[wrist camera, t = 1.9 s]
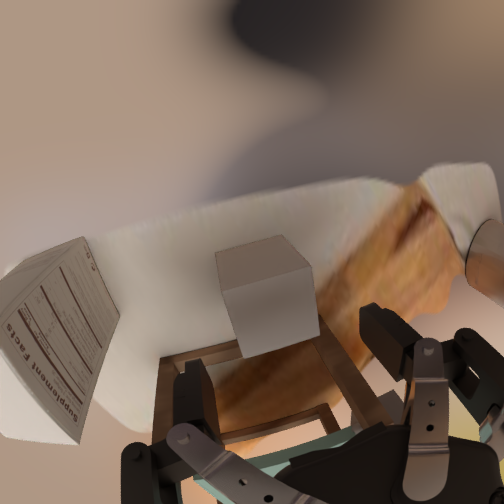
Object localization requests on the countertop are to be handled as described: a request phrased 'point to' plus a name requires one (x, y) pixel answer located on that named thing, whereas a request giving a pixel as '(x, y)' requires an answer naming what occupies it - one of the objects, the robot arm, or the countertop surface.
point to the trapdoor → (310, 445)
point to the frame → (346, 379)
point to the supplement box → (52, 343)
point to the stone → (268, 295)
